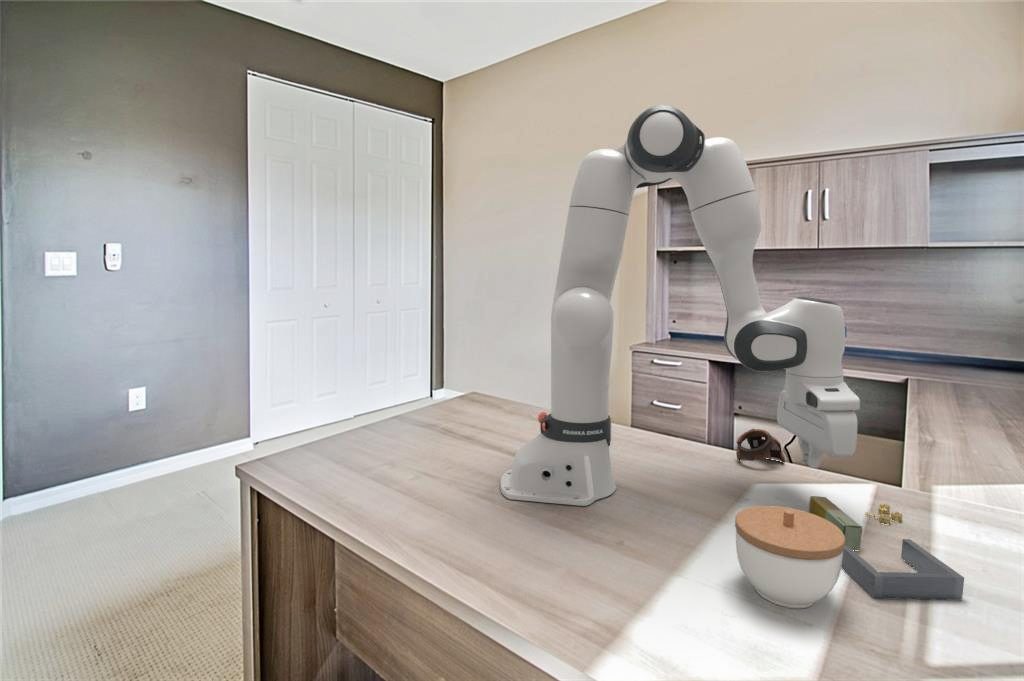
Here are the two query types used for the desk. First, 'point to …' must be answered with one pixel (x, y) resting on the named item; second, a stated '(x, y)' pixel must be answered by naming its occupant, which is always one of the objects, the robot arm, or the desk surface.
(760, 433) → the brown jagged ring
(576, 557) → the desk surface
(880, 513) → the dice set
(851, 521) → the medication box
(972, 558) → the desk surface
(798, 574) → the lidded white bowl
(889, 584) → the bracket
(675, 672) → the desk surface
